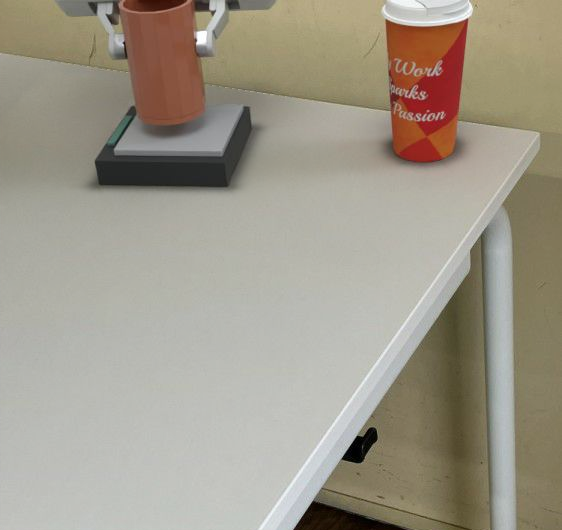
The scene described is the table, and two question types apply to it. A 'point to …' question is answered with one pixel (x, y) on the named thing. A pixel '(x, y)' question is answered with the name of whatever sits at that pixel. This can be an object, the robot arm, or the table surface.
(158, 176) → the scale
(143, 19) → the cup
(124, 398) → the table surface
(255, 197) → the table surface
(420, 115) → the paper cup
